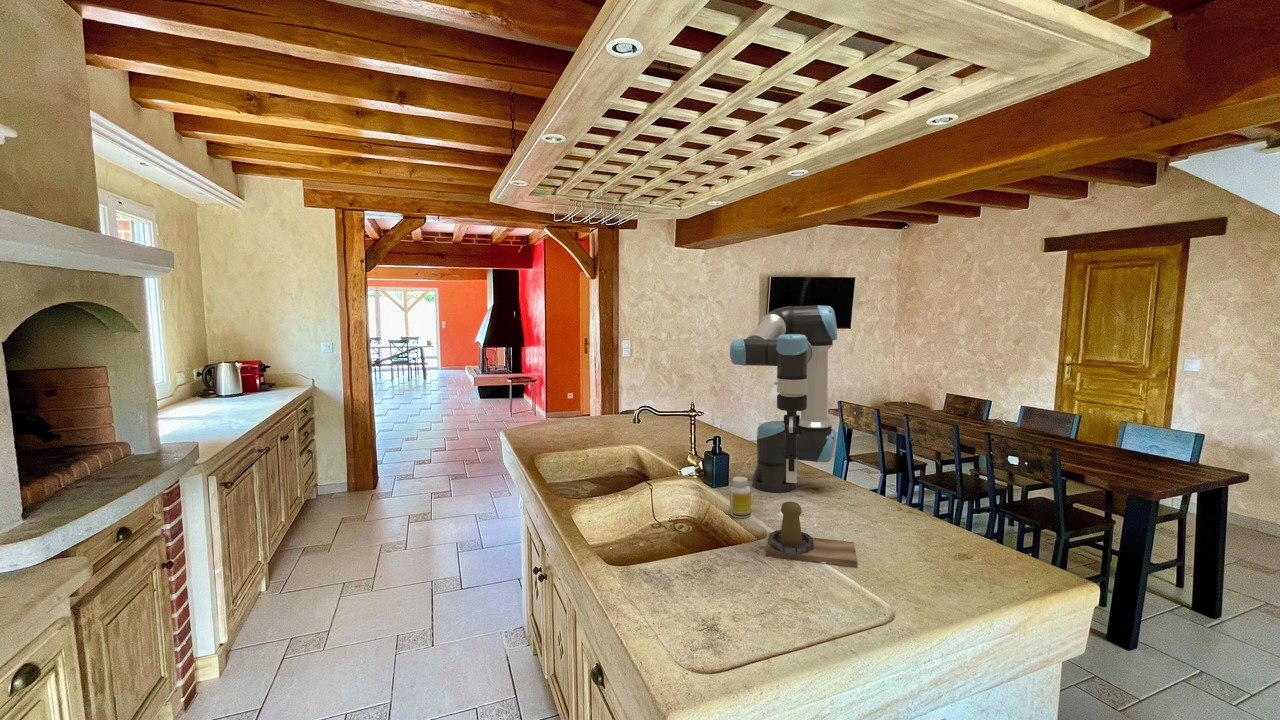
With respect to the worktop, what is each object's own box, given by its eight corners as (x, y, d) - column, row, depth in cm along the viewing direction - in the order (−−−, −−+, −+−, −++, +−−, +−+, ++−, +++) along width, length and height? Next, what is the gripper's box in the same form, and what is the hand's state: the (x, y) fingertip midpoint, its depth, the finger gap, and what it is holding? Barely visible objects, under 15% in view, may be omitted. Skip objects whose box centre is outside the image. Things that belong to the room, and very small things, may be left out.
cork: (800, 538, 141) (800, 499, 140) (804, 548, 135) (805, 507, 134) (777, 537, 142) (777, 498, 141) (781, 547, 136) (781, 507, 135)
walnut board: (769, 538, 146) (769, 532, 145) (853, 547, 139) (854, 542, 138) (766, 556, 135) (766, 550, 135) (857, 567, 128) (857, 561, 128)
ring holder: (770, 532, 145) (770, 527, 145) (813, 537, 142) (813, 532, 142) (767, 550, 135) (767, 545, 135) (813, 556, 131) (813, 550, 131)
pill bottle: (752, 518, 159) (752, 482, 158) (731, 519, 159) (731, 482, 158) (748, 510, 166) (748, 475, 164) (728, 511, 166) (728, 475, 165)
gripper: (778, 389, 142) (778, 472, 144) (775, 398, 129) (775, 489, 132) (807, 390, 139) (806, 474, 142) (806, 399, 127) (806, 491, 130)
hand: (791, 481), depth 137 cm, fingers closed
